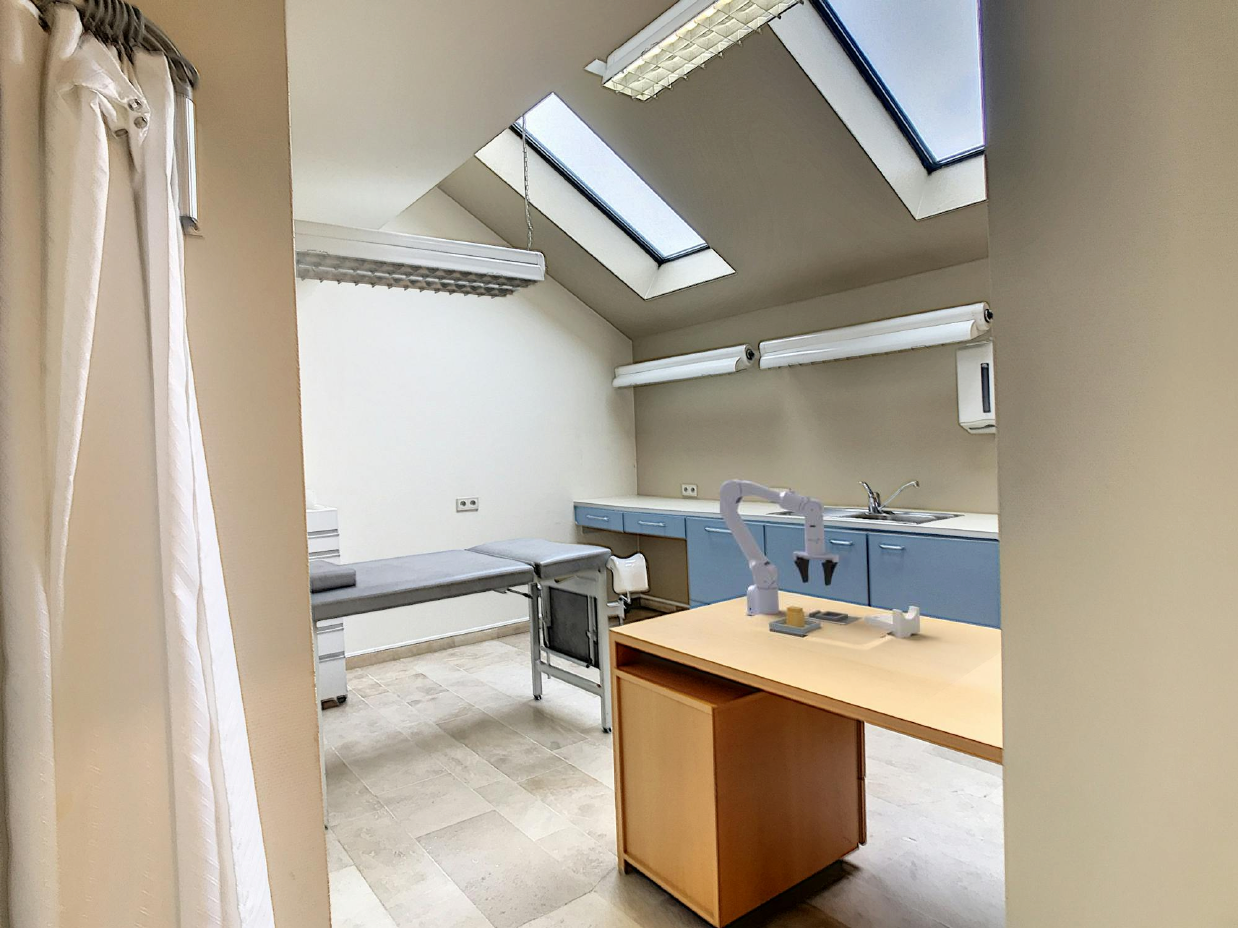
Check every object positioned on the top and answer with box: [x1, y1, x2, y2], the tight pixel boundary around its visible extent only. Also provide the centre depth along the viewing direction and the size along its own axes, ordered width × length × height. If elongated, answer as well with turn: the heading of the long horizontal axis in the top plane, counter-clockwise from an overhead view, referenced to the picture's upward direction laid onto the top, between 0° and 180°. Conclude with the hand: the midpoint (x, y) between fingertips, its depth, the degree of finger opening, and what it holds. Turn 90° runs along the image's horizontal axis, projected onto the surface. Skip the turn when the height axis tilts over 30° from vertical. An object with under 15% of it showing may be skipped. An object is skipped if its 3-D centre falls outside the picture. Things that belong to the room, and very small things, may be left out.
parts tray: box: [768, 616, 821, 638], centre depth 202 cm, size 11×9×2 cm
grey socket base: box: [804, 609, 862, 626], centre depth 210 cm, size 14×10×2 cm
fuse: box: [785, 605, 806, 628], centre depth 202 cm, size 4×4×6 cm
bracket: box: [864, 605, 921, 639], centre depth 198 cm, size 13×7×8 cm, turn 24°
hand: (816, 583), depth 215 cm, fingers open, 7 cm apart
